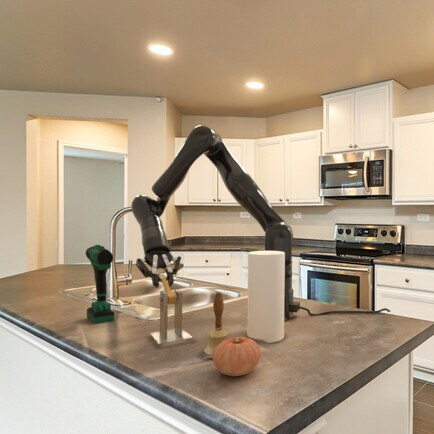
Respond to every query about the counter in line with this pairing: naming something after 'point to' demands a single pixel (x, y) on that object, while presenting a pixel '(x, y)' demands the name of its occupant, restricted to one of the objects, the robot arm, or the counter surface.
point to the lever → (167, 288)
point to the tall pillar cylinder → (266, 295)
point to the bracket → (165, 334)
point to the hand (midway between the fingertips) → (164, 285)
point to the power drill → (100, 284)
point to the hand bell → (216, 326)
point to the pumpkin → (236, 356)
